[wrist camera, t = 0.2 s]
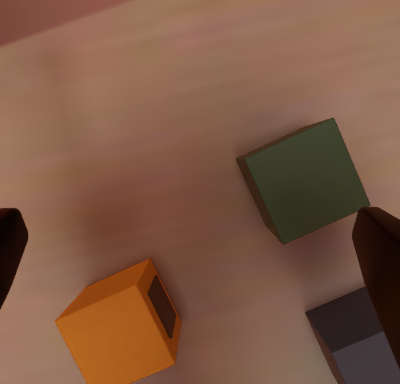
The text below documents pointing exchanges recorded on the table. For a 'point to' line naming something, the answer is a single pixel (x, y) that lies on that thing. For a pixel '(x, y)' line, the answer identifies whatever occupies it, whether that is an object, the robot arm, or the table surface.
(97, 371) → the mustard block
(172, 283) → the table surface
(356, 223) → the robot arm
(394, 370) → the slate block
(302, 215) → the green block
